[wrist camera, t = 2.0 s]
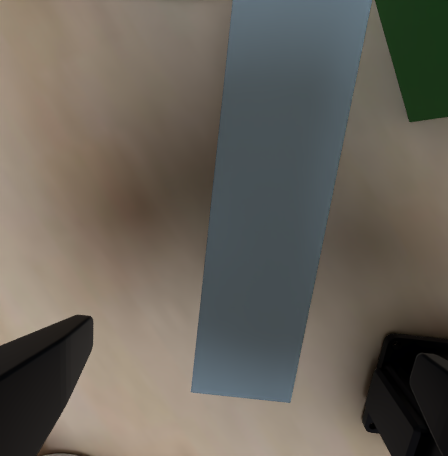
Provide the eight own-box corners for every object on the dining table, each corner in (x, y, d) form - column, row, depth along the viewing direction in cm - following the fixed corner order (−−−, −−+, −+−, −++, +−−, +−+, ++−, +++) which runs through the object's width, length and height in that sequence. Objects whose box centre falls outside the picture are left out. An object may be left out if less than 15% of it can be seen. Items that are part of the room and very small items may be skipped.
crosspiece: (240, -14, 14) (256, -226, 6) (308, -5, 14) (413, -205, 6) (207, 281, 17) (190, 392, 9) (261, 287, 17) (290, 402, 9)
